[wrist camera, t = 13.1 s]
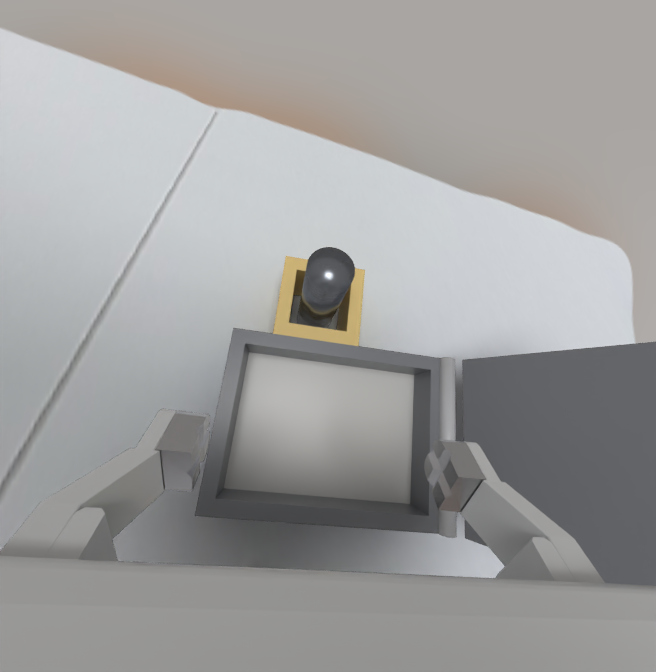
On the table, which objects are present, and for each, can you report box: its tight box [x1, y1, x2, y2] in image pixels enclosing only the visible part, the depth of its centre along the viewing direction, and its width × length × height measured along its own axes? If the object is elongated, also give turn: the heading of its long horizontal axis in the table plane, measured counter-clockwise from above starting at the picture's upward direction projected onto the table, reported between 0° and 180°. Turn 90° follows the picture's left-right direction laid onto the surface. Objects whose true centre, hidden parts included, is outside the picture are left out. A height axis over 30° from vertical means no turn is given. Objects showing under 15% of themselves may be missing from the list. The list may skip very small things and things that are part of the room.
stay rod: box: [297, 247, 355, 329], centre depth 23 cm, size 3×3×10 cm
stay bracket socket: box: [273, 256, 365, 346], centre depth 26 cm, size 6×6×5 cm
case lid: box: [462, 342, 656, 586], centre depth 16 cm, size 16×12×1 cm
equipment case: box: [195, 328, 457, 538], centre depth 23 cm, size 17×12×6 cm
